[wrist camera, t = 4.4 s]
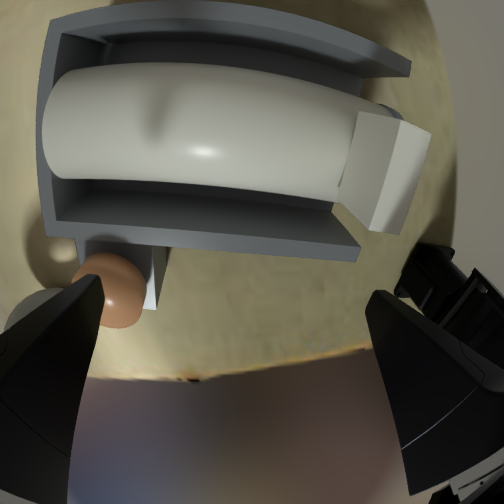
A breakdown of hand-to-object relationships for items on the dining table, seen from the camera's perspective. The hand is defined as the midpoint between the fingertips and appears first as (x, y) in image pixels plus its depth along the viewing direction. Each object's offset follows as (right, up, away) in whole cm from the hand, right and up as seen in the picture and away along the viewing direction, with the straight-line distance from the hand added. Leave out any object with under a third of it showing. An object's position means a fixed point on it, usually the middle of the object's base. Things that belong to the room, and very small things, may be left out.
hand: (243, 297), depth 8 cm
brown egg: (-8, +2, +10) cm, 13 cm away
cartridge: (-1, +9, +6) cm, 11 cm away
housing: (-3, +7, +9) cm, 12 cm away
